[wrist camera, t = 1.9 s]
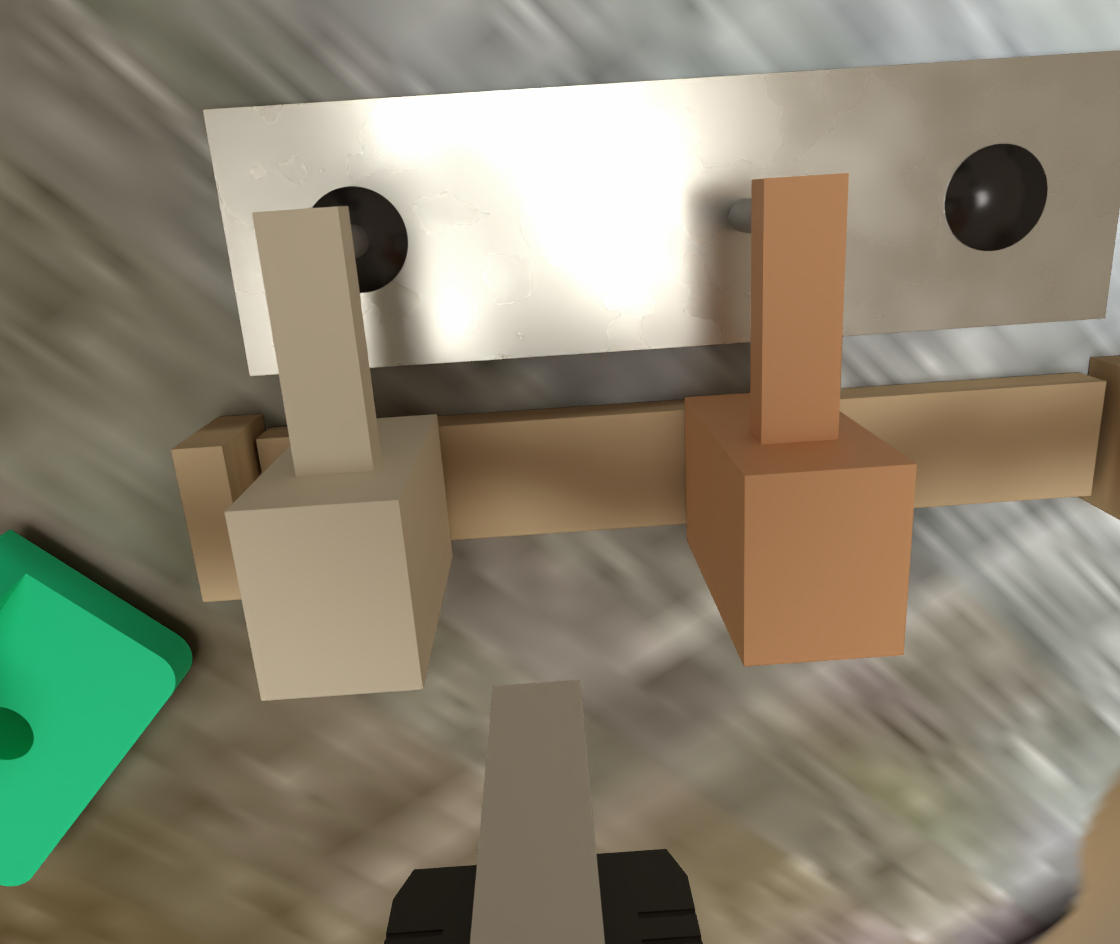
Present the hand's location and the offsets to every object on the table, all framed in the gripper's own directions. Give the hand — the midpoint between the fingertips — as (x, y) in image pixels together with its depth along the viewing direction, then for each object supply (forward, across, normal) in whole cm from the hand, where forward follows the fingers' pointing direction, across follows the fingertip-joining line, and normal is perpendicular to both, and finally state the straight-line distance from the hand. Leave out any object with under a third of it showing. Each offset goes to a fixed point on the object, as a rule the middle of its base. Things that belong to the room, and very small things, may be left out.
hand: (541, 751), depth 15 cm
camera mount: (+16, -19, -7) cm, 26 cm away
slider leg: (+14, +7, +4) cm, 16 cm away
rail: (+16, +5, 0) cm, 17 cm away
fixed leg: (+14, -5, +4) cm, 16 cm away
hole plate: (+16, +5, +8) cm, 19 cm away
